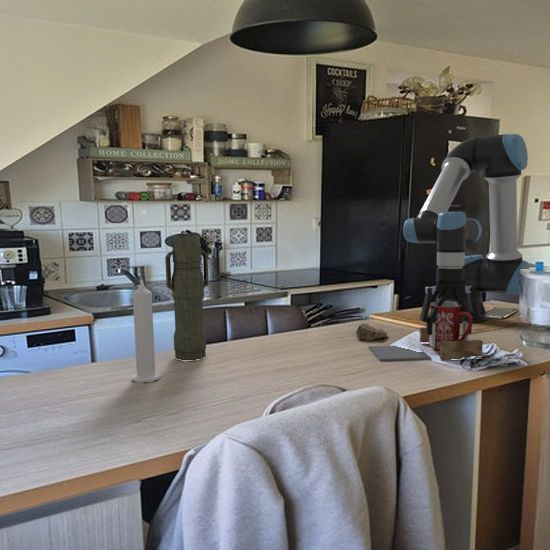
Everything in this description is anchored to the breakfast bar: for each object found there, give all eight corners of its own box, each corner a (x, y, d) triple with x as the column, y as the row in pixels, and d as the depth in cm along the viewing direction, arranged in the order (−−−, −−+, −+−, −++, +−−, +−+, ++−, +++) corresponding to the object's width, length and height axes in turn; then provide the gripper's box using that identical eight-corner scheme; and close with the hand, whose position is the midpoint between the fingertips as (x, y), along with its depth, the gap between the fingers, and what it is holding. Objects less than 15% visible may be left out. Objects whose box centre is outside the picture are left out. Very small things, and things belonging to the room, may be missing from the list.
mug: (422, 349, 161) (422, 303, 159) (440, 344, 166) (441, 300, 165) (461, 358, 151) (462, 309, 149) (479, 352, 157) (480, 305, 155)
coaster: (415, 346, 164) (415, 344, 164) (430, 359, 150) (431, 357, 150) (368, 348, 164) (368, 346, 164) (380, 361, 150) (380, 359, 150)
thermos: (164, 357, 157) (159, 234, 153) (202, 351, 164) (197, 232, 160) (177, 364, 150) (172, 235, 146) (216, 357, 157) (212, 233, 152)
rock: (358, 342, 172) (390, 336, 171) (354, 324, 173) (386, 317, 172) (356, 343, 180) (387, 336, 180) (352, 325, 181) (382, 319, 181)
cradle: (455, 342, 169) (455, 326, 168) (482, 359, 150) (482, 341, 149) (419, 343, 168) (420, 327, 167) (442, 360, 149) (442, 342, 148)
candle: (130, 376, 140) (125, 278, 137) (158, 373, 142) (153, 276, 139) (133, 384, 133) (128, 282, 130) (163, 381, 136) (158, 280, 133)
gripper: (482, 265, 160) (480, 341, 163) (408, 266, 159) (407, 343, 162) (493, 267, 153) (491, 347, 155) (416, 269, 152) (415, 349, 154)
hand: (448, 345), depth 158 cm, fingers closed on mug, 9 cm apart
